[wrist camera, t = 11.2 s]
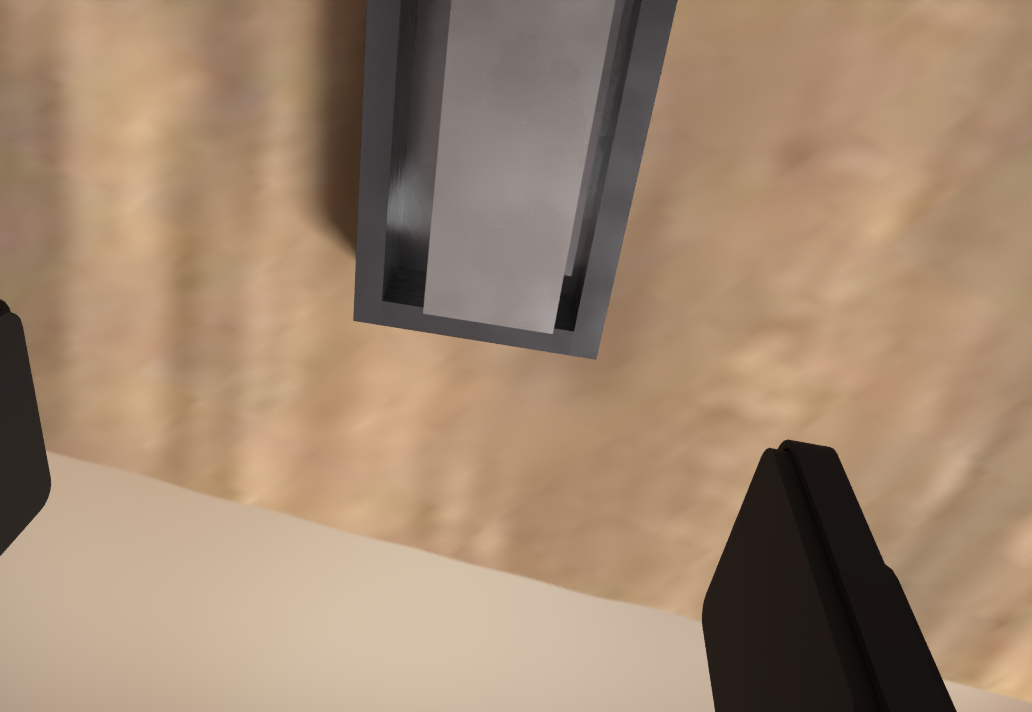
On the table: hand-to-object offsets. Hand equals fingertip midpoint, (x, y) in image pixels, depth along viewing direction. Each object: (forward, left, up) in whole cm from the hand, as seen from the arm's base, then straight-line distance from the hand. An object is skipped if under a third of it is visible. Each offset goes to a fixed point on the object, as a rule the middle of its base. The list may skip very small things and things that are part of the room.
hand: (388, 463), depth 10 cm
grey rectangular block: (0, -1, -20) cm, 20 cm away
